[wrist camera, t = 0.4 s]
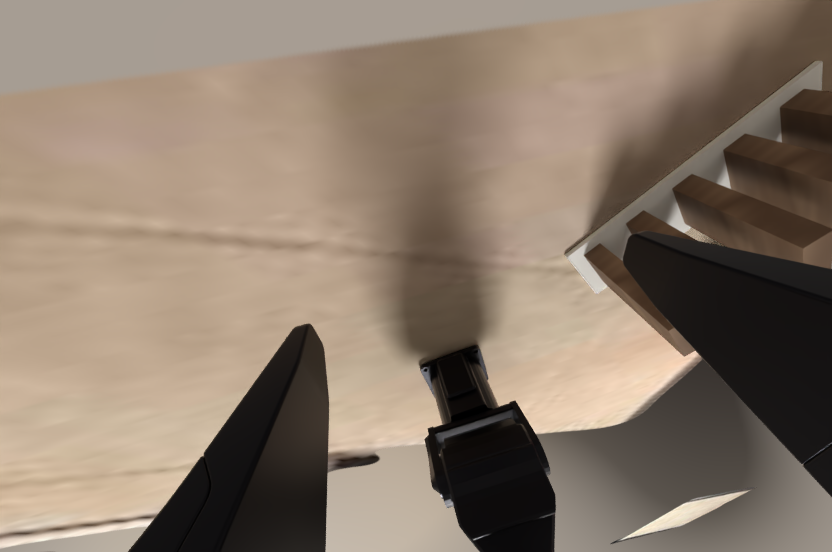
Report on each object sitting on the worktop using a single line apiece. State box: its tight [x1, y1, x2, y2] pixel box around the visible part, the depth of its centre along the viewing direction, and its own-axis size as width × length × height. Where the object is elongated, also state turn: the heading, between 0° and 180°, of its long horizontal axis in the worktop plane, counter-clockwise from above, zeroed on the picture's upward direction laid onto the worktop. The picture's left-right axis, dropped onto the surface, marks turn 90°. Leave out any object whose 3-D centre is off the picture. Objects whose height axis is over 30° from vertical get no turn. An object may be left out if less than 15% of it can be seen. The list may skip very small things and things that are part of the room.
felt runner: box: [565, 61, 823, 294], centre depth 26 cm, size 20×7×1 cm, turn 134°
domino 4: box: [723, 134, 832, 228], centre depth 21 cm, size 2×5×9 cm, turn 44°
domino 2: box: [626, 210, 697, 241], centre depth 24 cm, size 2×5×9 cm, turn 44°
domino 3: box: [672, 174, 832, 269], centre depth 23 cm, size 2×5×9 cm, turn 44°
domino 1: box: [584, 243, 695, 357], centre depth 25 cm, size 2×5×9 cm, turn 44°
